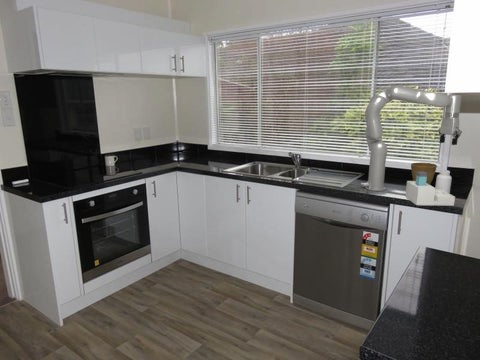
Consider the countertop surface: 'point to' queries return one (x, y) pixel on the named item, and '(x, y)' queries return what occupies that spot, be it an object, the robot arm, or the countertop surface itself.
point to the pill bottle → (443, 181)
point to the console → (427, 195)
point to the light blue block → (421, 178)
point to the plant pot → (424, 170)
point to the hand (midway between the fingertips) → (447, 143)
